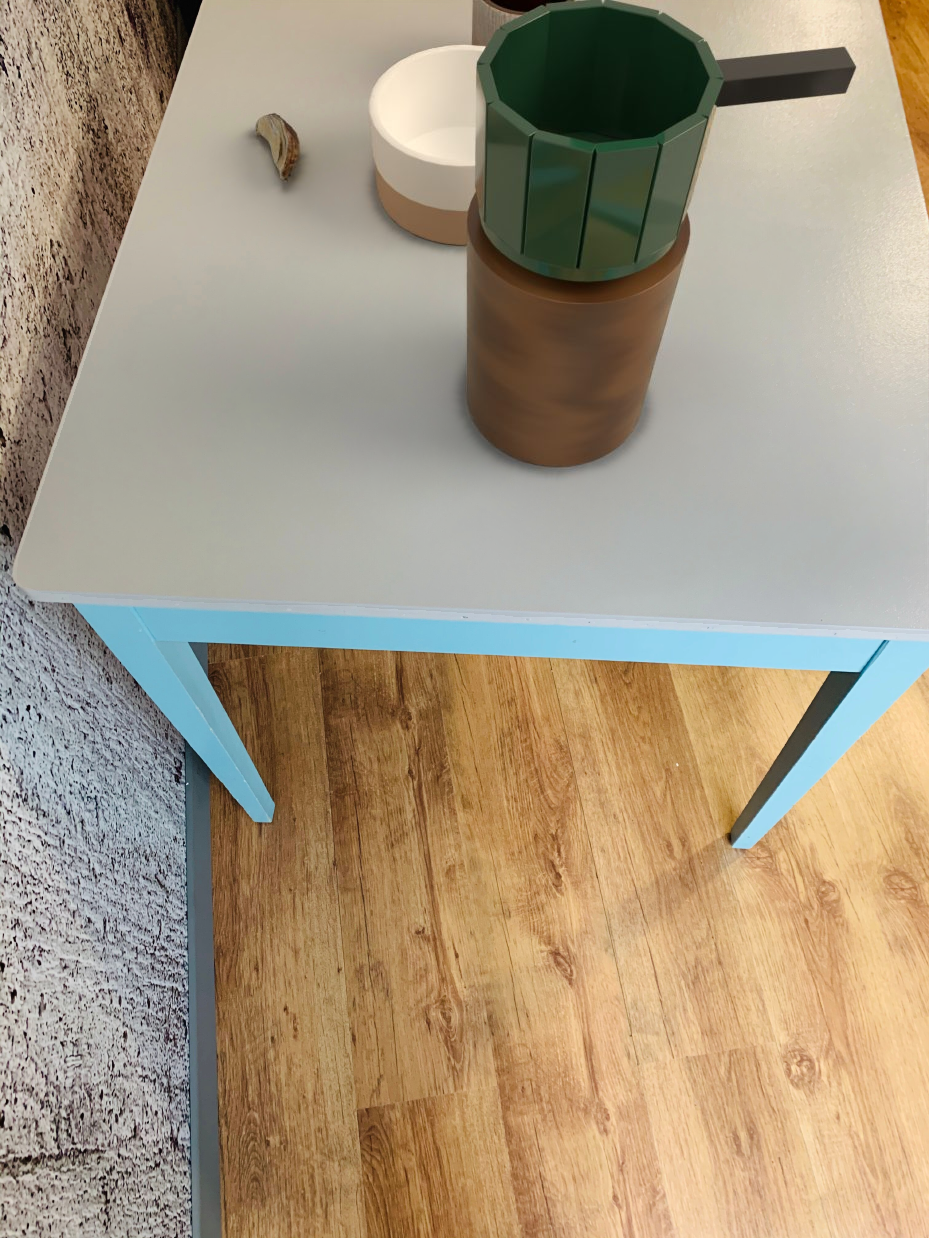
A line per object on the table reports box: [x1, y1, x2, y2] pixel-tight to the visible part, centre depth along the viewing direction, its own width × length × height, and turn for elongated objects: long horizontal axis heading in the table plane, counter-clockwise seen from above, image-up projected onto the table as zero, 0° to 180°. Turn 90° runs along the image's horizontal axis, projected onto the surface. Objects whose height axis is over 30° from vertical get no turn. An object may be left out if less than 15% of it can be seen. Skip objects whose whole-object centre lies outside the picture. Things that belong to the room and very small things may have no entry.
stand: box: [466, 192, 691, 468], centre depth 65 cm, size 15×15×18 cm
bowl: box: [368, 44, 485, 246], centre depth 81 cm, size 17×17×8 cm
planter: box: [471, 0, 581, 47], centre depth 87 cm, size 11×11×10 cm
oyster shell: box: [254, 112, 301, 184], centre depth 85 cm, size 6×4×10 cm
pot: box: [475, 0, 857, 282], centre depth 52 cm, size 22×14×9 cm, turn 99°
